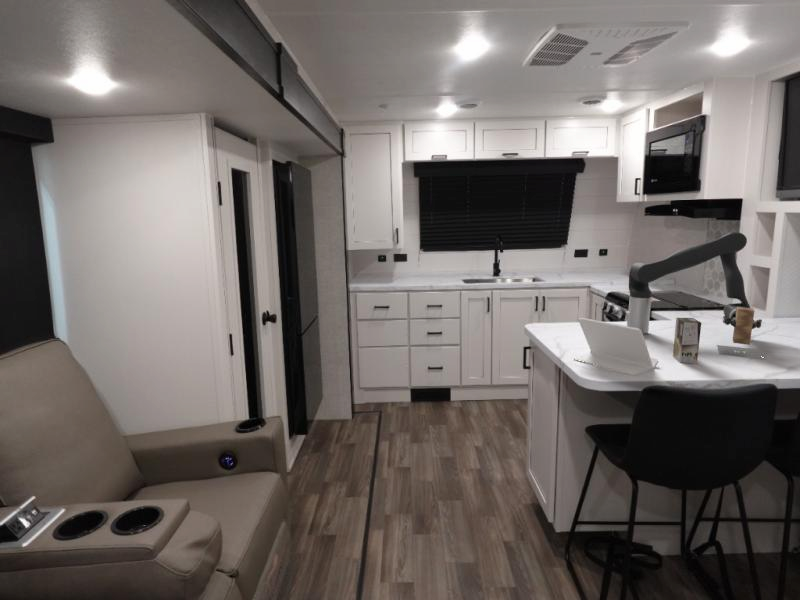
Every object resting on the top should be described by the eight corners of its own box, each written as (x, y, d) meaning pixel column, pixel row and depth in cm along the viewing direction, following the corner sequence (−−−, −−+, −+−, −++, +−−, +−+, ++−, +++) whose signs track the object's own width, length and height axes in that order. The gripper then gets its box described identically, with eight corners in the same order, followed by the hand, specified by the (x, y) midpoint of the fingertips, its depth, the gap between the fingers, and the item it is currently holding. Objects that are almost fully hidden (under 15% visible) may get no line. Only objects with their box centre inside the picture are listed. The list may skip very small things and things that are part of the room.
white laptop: (633, 376, 182) (637, 330, 179) (572, 360, 202) (574, 318, 199) (658, 367, 193) (662, 322, 190) (598, 352, 212) (601, 312, 209)
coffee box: (697, 363, 196) (702, 322, 193) (679, 362, 197) (683, 321, 194) (689, 357, 205) (693, 317, 202) (672, 356, 206) (675, 316, 203)
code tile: (718, 354, 207) (718, 354, 207) (716, 345, 221) (716, 344, 221) (766, 360, 199) (767, 359, 199) (761, 350, 213) (761, 349, 213)
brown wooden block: (733, 342, 208) (737, 309, 206) (732, 339, 213) (736, 306, 210) (749, 344, 206) (754, 310, 203) (748, 341, 210) (752, 308, 208)
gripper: (721, 307, 223) (724, 314, 208) (761, 310, 216) (767, 318, 202) (719, 324, 224) (721, 332, 210) (759, 328, 218) (764, 337, 203)
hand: (744, 325), depth 206 cm, fingers closed on brown wooden block, 5 cm apart
